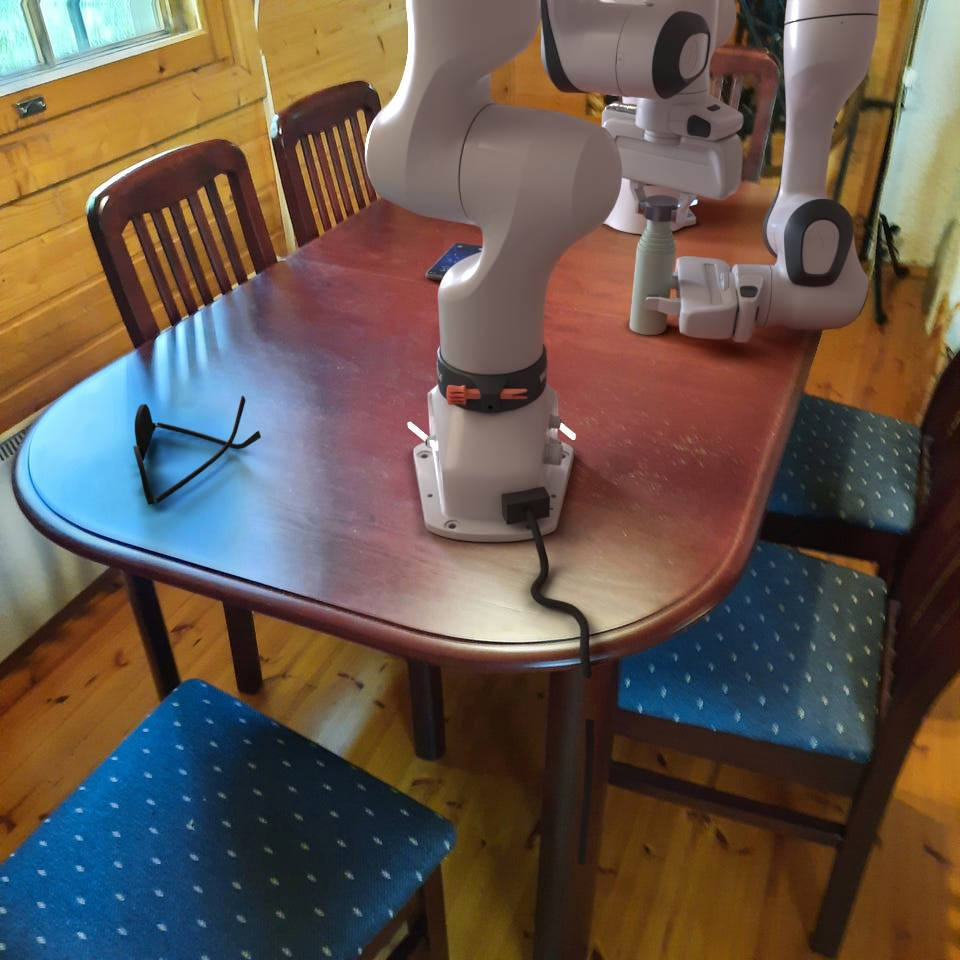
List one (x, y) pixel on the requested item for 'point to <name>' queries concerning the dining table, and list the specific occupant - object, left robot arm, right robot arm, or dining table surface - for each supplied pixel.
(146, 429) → the sunglasses
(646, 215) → the cap
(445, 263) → the smartphone
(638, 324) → the bottle
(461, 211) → the left robot arm
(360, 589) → the dining table surface
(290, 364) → the dining table surface
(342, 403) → the dining table surface
